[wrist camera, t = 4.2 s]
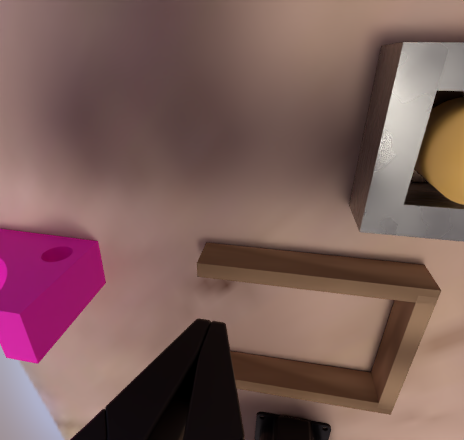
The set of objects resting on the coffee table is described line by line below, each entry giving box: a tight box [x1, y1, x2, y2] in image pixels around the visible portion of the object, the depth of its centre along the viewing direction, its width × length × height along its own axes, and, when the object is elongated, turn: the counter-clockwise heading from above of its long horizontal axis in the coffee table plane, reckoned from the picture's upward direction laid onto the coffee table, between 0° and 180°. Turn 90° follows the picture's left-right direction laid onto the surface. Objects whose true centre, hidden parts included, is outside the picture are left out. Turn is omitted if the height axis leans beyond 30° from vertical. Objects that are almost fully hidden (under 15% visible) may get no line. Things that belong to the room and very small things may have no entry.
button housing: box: [349, 42, 464, 241], centre depth 14 cm, size 8×8×3 cm
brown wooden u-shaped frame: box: [197, 243, 441, 415], centre depth 21 cm, size 11×14×2 cm
